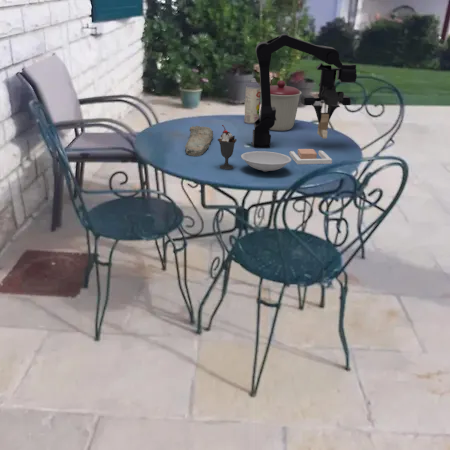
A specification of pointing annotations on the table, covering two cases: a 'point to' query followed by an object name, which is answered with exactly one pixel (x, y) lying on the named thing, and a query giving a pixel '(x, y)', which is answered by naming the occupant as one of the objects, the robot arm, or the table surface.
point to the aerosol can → (252, 102)
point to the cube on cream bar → (323, 125)
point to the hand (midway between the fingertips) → (323, 122)
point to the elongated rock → (198, 140)
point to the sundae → (226, 147)
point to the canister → (284, 105)
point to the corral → (324, 160)
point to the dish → (265, 160)
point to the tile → (307, 154)
